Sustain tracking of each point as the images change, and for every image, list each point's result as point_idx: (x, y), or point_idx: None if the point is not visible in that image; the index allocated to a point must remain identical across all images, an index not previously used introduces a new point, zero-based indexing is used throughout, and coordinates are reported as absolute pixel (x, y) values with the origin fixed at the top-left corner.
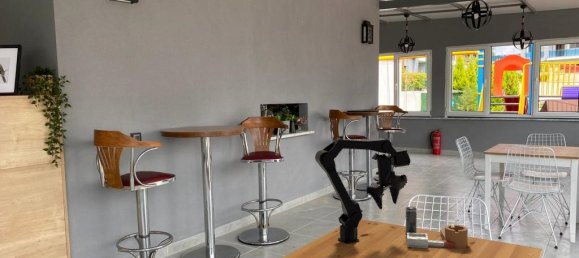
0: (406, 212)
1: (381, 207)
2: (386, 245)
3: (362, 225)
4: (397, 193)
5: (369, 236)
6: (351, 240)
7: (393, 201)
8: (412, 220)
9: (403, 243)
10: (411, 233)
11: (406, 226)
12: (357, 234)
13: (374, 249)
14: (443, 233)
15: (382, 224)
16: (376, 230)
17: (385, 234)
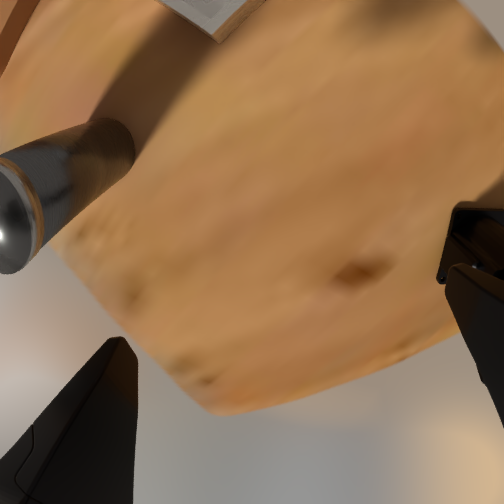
0: (51, 213)
1: (482, 272)
2: (397, 59)
3: (255, 373)
4: (30, 467)
5: (360, 239)
6: (491, 218)
7: (132, 383)
8: (60, 139)
9: (279, 20)
10: (194, 9)
11: (113, 168)
12: (456, 244)
13: (480, 67)
14: (9, 8)
15: (159, 345)
16: (248, 298)
17: (253, 219)
